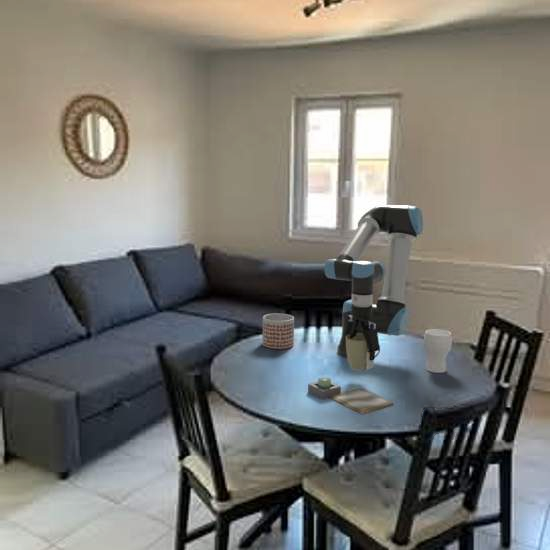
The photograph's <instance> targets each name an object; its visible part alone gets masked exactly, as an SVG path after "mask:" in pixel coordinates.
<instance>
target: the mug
mask: <svg viewBox="0 0 550 550" xmlns="http://www.w3.org/2000/svg"><path fill="white" fill-rule="evenodd" d="M379 347H380V348H381V345H380V344H379ZM367 351H369V350H368V347H367V343H366V340H365V337H364V334H361V333H357V334H356V336H355V337H353V338H352V339H350V334H348V335H346V352H347V357H348V358H347V357H346V358H347V361H348V364H349V367H350V369H351V370H352V371H358V372H359V371H363V370H364V369H365V368H366V366H367ZM380 352H381V349H380V350H379V351H377V353H375V358H377V357H378V355H379V353H380Z"/></svg>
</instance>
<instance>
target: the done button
mask: <svg viewBox="0 0 550 550" xmlns="http://www.w3.org/2000/svg"><path fill="white" fill-rule="evenodd" d="M317 381H318V387H320V388H322V389H326V388H329V387H331V382H332V379H331V378H330V377H325V376H324V377H323V376H322V377H319V378H317Z"/></svg>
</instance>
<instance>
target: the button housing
mask: <svg viewBox="0 0 550 550" xmlns="http://www.w3.org/2000/svg"><path fill="white" fill-rule="evenodd" d="M307 392H308V393H309V394H310V395H313V396H315V397H317V398H318V399H319V400H320V399H321V400H322V401H323V400H326V399H330V398H329V396H332V395H335V394H339V393H342V387H341V385H339V384H337V383H335V382H332V381H331V387H329V388H326V389H322V388H320V387H318V380H317V381H314V382H311V383H307Z"/></svg>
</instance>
